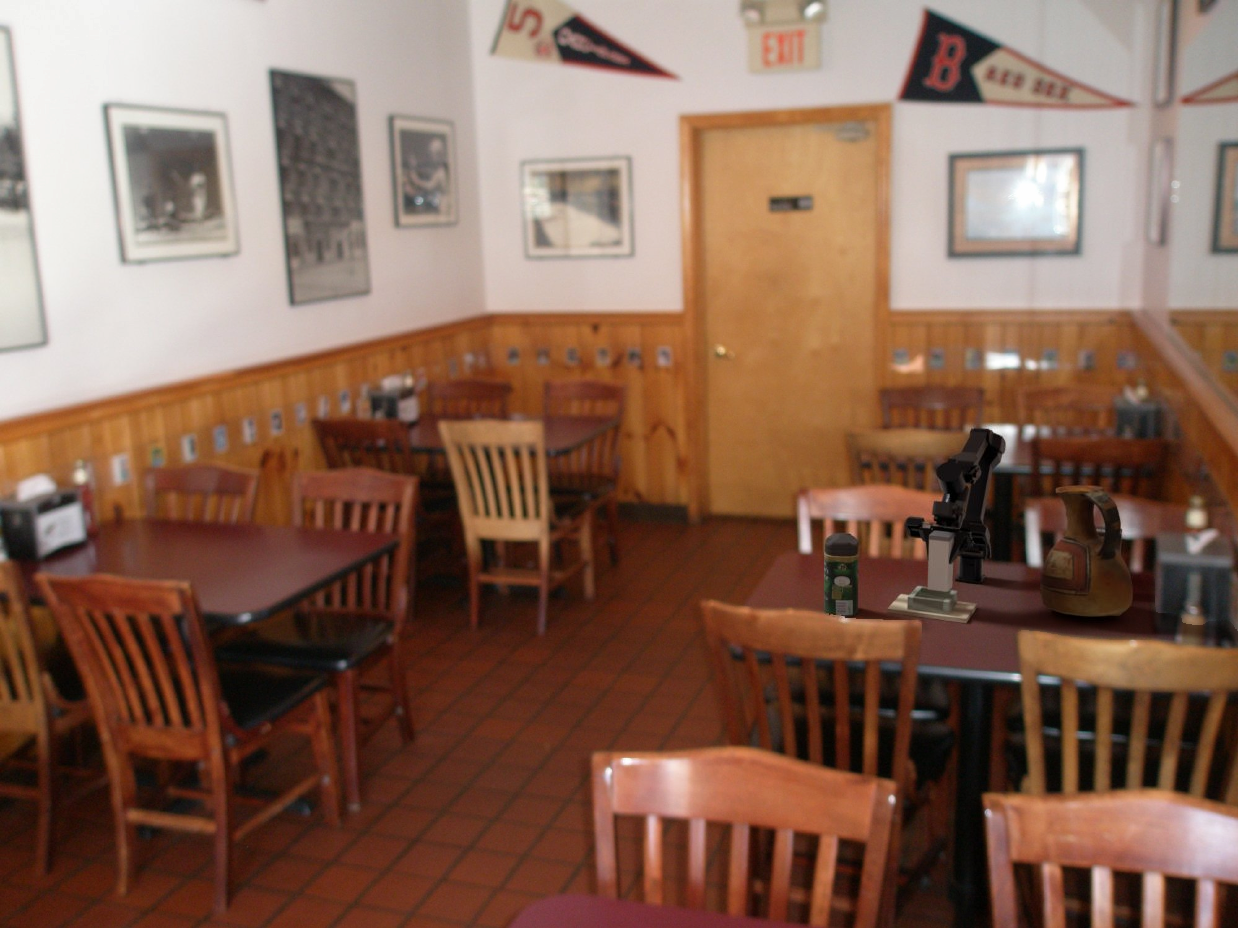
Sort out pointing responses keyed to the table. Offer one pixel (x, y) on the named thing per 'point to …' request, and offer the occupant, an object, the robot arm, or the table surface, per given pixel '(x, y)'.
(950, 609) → the end holder
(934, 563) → the connector plug
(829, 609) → the coffee jar
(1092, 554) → the ceramic pitcher
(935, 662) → the table surface
